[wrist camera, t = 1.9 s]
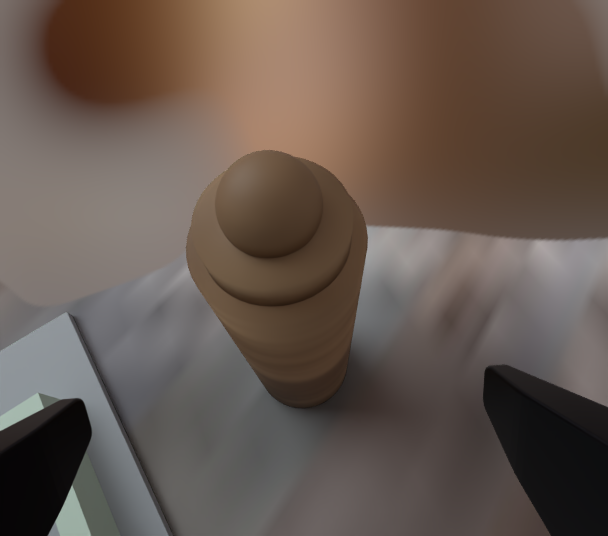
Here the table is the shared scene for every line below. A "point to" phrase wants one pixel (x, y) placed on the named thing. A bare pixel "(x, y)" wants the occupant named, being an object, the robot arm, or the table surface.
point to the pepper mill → (282, 270)
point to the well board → (104, 442)
